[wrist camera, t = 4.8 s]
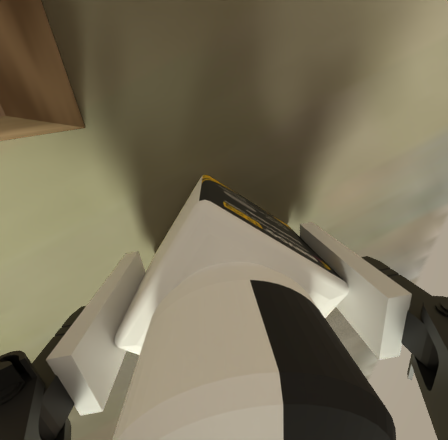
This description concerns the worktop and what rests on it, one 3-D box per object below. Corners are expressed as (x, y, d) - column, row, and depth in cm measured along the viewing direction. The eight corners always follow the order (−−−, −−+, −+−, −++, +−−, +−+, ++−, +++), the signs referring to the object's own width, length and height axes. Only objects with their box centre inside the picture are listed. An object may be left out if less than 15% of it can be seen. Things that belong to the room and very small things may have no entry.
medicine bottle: (289, 225, 15) (544, 471, 4) (235, 297, 17) (293, 615, 5) (203, 171, 13) (183, 320, 2) (152, 257, 15) (-16, 602, 4)
